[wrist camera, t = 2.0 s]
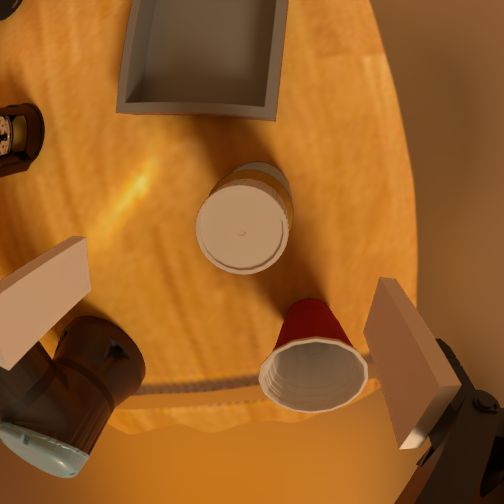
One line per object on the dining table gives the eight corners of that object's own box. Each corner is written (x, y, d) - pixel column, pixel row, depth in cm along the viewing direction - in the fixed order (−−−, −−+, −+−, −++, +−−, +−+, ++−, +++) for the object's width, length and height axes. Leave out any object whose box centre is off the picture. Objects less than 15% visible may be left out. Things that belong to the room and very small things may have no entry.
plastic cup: (247, 320, 40) (235, 384, 29) (307, 263, 37) (317, 317, 26) (306, 364, 42) (310, 429, 31) (365, 315, 39) (389, 377, 28)
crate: (136, 114, 33) (115, 112, 28) (165, -52, 24) (151, -69, 19) (275, 121, 32) (274, 118, 27) (293, -54, 23) (294, -76, 19)
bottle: (301, 203, 35) (314, 249, 21) (248, 234, 36) (226, 296, 22) (268, 149, 33) (257, 156, 19) (214, 183, 35) (169, 215, 21)
